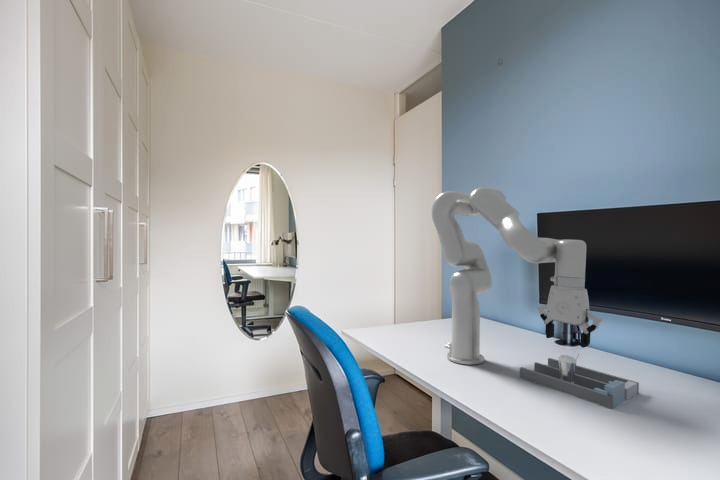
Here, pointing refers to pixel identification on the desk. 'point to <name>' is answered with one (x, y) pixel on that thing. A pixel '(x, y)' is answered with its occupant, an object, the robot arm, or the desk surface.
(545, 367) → the grey divided tray
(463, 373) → the desk surface
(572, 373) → the milkshake
